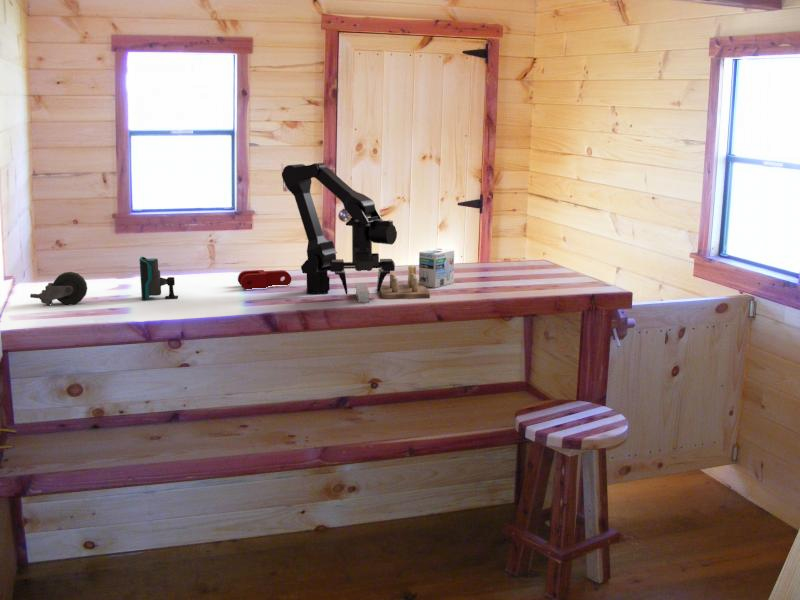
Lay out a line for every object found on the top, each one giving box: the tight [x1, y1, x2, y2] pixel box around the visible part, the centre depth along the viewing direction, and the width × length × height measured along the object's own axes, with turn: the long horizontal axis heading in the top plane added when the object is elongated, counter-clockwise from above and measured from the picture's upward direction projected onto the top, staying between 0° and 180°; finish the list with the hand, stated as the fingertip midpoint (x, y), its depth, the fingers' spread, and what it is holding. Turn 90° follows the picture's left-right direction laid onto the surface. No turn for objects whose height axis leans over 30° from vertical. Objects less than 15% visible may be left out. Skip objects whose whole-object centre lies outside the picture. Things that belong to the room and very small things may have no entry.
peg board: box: [379, 273, 431, 299], centre depth 275 cm, size 14×14×5 cm
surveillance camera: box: [139, 256, 179, 301], centre depth 265 cm, size 6×12×10 cm
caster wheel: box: [30, 271, 88, 307], centre depth 256 cm, size 6×10×15 cm
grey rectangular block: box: [355, 282, 370, 304], centre depth 268 cm, size 12×3×4 cm, turn 7°
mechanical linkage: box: [237, 269, 292, 290], centre depth 283 cm, size 16×7×5 cm, turn 109°
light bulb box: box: [418, 247, 455, 289], centre depth 288 cm, size 11×7×11 cm, turn 143°
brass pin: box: [407, 265, 417, 285], centre depth 287 cm, size 2×2×6 cm
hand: (362, 294), depth 268 cm, fingers open, 9 cm apart
